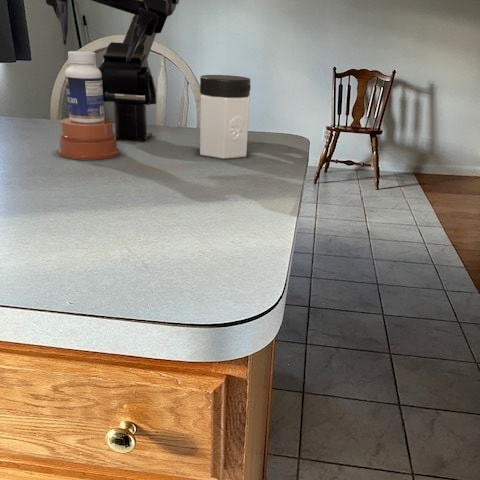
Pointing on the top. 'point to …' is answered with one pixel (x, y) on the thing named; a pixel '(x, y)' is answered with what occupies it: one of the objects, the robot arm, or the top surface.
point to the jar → (224, 116)
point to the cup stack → (87, 140)
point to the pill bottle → (84, 88)
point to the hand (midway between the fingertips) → (96, 52)
